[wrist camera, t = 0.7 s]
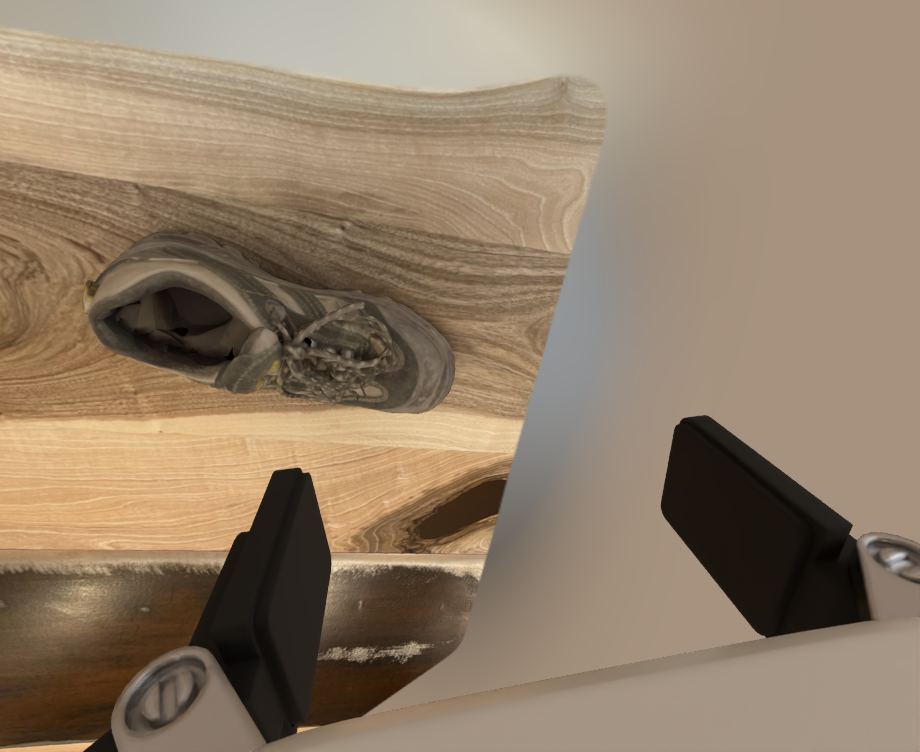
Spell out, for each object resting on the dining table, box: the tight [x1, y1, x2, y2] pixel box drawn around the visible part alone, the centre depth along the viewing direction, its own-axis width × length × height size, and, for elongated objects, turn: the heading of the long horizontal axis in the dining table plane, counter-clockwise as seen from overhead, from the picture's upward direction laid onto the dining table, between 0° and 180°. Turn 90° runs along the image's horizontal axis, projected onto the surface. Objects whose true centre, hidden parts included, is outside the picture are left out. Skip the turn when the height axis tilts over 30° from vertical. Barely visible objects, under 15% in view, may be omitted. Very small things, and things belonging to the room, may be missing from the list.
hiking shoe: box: [83, 230, 455, 414], centre depth 26 cm, size 9×21×12 cm, turn 67°
